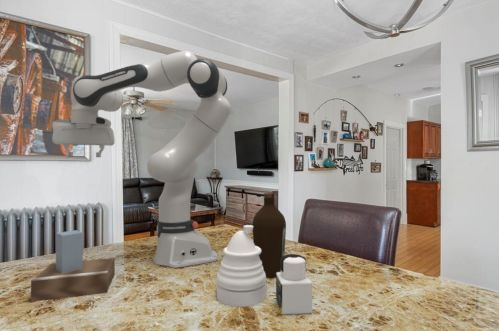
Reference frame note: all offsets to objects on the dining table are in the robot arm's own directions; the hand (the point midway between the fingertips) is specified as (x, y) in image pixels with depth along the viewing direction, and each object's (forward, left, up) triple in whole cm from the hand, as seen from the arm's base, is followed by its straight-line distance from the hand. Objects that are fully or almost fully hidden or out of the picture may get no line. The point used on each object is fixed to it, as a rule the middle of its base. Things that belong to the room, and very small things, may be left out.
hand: (84, 157), depth 108 cm
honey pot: (-47, +49, -37) cm, 78 cm away
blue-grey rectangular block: (-3, +30, -32) cm, 44 cm away
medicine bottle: (-57, +59, -37) cm, 90 cm away
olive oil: (-60, +36, -37) cm, 79 cm away
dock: (-5, +30, -37) cm, 48 cm away
